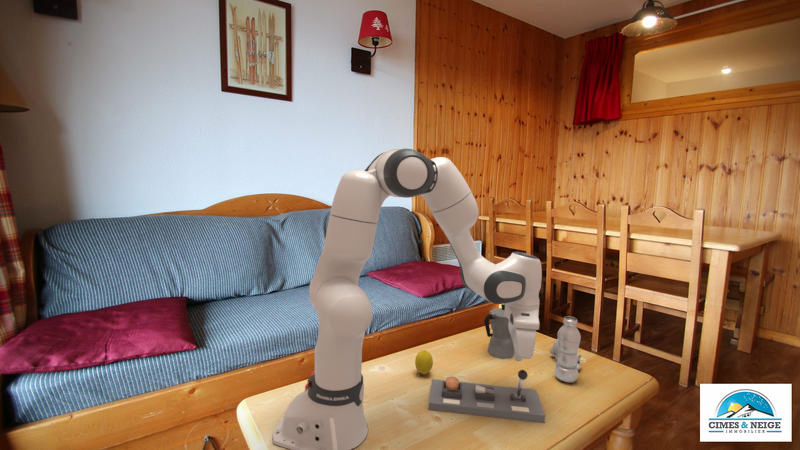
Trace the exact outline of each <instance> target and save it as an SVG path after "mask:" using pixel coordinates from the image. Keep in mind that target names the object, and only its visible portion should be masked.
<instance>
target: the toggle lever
mask: <svg viewBox="0 0 800 450" xmlns="http://www.w3.org/2000/svg"><path fill="white" fill-rule="evenodd" d="M517 376H518V378H519V381H518V385H517V388H518V389H517V394H515V398H516V399H521V396H520V394H521V390H522V388H523V385H524V381H525V380H526V379H528V372H527V371H526V370H525V369H519V371H518V373H517Z"/></svg>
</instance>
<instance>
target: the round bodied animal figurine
mask: <svg viewBox="0 0 800 450" xmlns="http://www.w3.org/2000/svg"><path fill="white" fill-rule="evenodd" d="M549 353H550V354H551V355H552V356H555V357H554V360H555V362H557V358H558V337H557V338H556V339H555V340H554V342H553V346H551V348H550V349H549ZM581 357H582V354H578V353H577V368H578V371H579V370H581Z"/></svg>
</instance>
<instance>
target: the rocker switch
mask: <svg viewBox="0 0 800 450" xmlns="http://www.w3.org/2000/svg"><path fill="white" fill-rule="evenodd" d="M475 392H476V393H485V394H494V390H493V389H489V388H485V387H481V386H478V385H476V387H475Z"/></svg>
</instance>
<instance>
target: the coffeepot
mask: <svg viewBox="0 0 800 450" xmlns="http://www.w3.org/2000/svg"><path fill="white" fill-rule="evenodd" d="M500 306H501V307H498V308H492V309H491V310H490V311H489V314H486V316H485V318H484V319H483V324H484V327H485V331H486V335H487V337H488V338H490V339H489V343H488V347H487V352H488V353H489V355H490V356H492V357H493V358H498V359H502V360H503V359H505V360H507V359H511V358H512V357H514V344H513V341H512V338H511V335H510V332H509V329H508V322H509V319H508V318H507V317H506V316H505V315H504V313H505V304H500ZM491 330H492V332H491Z"/></svg>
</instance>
